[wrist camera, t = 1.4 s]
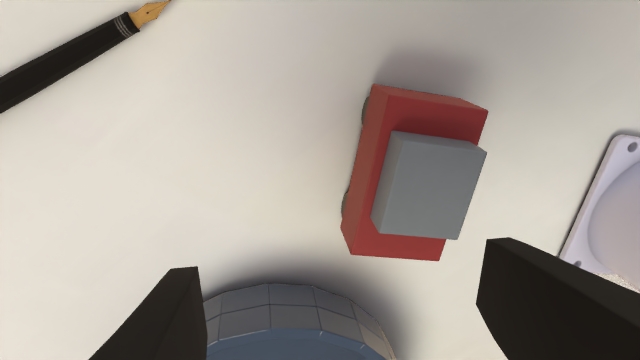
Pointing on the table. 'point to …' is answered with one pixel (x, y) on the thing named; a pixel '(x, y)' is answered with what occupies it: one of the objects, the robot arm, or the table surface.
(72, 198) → the table surface
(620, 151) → the robot arm
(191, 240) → the table surface
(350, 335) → the bowl
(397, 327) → the table surface
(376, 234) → the red block grey top
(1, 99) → the fountain pen
